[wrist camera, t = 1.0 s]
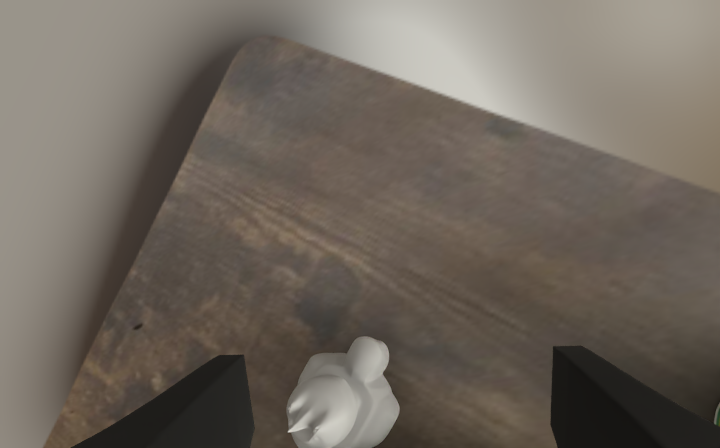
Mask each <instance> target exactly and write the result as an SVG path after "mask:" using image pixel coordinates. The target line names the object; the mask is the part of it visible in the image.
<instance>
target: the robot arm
mask: <svg viewBox="0 0 720 448" xmlns="http://www.w3.org/2000/svg"><path fill="white" fill-rule="evenodd" d="M551 427H552V431H553V434H554V437H555V440H556V443H557V447H558V448H720V426H718V425H716V424H714V423H712V422H710V421H708V420H706V419H704V418H702V417H700V416H699V415H697V414H695V413H693V412H691V411H689V410H688V409H686V408H684V407H682V406H680V405H678V404H677V403H675V402H673V401H671V400H670V399H668V398H666V397H664V396H663V395H661V394H659V393H658V392H656V391H654V390H653V389H651V388H649V387H648V386H646V385H644V384H643V383H641V382H640V381H638V380H636V379H635V378H633V377H632V376H630V375H628V374H627V373H625V372H624V371H622V370H620V369H619V368H617V367H616V366H614V365H613V364H611V363H609V362H608V361H606V360H605V359H603V358H602V357H600V356H598V355H597V354H595V353H593V352H592V351H590V350H588V349H586V348H585V347H583V346H553V368H552V396H551ZM254 429H255V427H254V420H253V413H252V407H251V400H250V393H249V386H248V380H247V373H246V366H245V359H244V355H219V356H217V357H215V358H213V359H212V360H210V361H208V362H207V363H205V364H204V365H202V366H201V367H199V368H198V369H196V370H195V371H194V372H192V373H191V374H189V375H188V376H186V377H185V378H183V379H182V380H181V381H179V382H178V383H176V384H175V385H173V386H172V387H170V388H169V389H167V390H166V391H165V392H163V393H162V394H160V395H159V396H157V397H156V398H154V399H153V400H151V401H150V402H148V403H146V404H145V405H143V406H142V407H140V408H139V409H137V410H135V411H134V412H132V413H131V414H129V415H127V416H126V417H124V418H123V419H121V420H120V421H118V422H116V423H115V424H113V425H111V426H110V427H108V428H106V429H104V430H103V431H101V432H99V433H97V434H96V435H94V436H92V437H90V438H88V439H86V440H84V441H82V442H81V443H79V444H77V445H75V446H73V447H71V448H250V444H251V440H252V436H253V433H254Z"/></svg>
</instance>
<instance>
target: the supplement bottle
mask: <svg viewBox="0 0 720 448" xmlns="http://www.w3.org/2000/svg"><path fill="white" fill-rule="evenodd" d="M714 424H716V425H718V426H720V403H719V405H718V407H717V409H716V414H715V419H714Z"/></svg>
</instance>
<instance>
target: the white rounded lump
mask: <svg viewBox="0 0 720 448" xmlns="http://www.w3.org/2000/svg"><path fill="white" fill-rule="evenodd" d="M388 362H389V351H388V348H387V346H386V345H385V343H383V342H382V341H380V340H375V339H373V338H371V337H358V338H357V339H355V340H354V342H353V344H352V345H351V347H350V349H349V351H348V353H347V354H346V353H320V354H316V355H313V356H312V357H311V358H310V360H309V361H308V363H307V365H306V366H305V368H304V370H303V372H302V374H301V375H300V377H299V380H298V386H297V387H296V388H295V389H294V391H293V392H292V394H291V396H290V398H289V400H288V403H287V416H288V426H289V430H288V432H291V434H292V437H293V439H294V441H295V443H296V445H297V446H298V447H299V448H373V447H375V446H376V445H378V444H380V443H381V442H382V441H383V440H384V439H385V438H386V436H387V435H388V433H389V432H390V430H391V428H392V426H393V425H394V423H395V421H396V419H397V417H398V415H399V410H400V409H399V404H398V402H397V400H396V398H395V396H394V395H393V393H392V390H391V387H390V385H389V383H388V382H387V380H386V378H385V377H384V375H383V372H384V370H385V369H386V367H387V365H388Z"/></svg>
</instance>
